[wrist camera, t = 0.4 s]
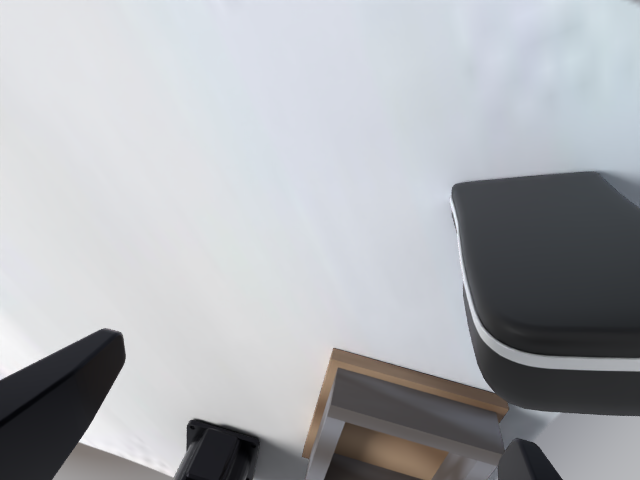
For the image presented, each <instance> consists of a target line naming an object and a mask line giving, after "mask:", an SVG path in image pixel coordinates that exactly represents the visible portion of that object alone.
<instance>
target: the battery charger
mask: <svg viewBox="0 0 640 480" xmlns="http://www.w3.org/2000/svg"><path fill="white" fill-rule="evenodd" d="M450 205H451V209H452V217H453V221H454V225H455V228H456V233H457V238H458V248H459V257H460V265H461V271H462V277H463V297H464V304H465V311H466V316H467V322H468V327H469V331H470V336H471V340H472V344H473V348H474V352H475V356H476V360H477V364H478V366H479V368H480V371H481V373H482V375H483V378H484V379H485V381H486V382H487V384H488V385H489V386H490V387H491V389H492V390H493V391H494V392H495V393H496V395H498V396H499V397H501V398H502V399H504V400H505V401H507V402H508V403H511V404H513V405H516V406H519V407H522V408H524V409H531V410H538V411H548V412H563V413H580V414H597V415H617V416H640V208H638V207H637V206H636V205H634V204H633V203H632V202H630V201H629V200H628V199H626V198H625V197H624V196H623V195H621V194H620V193H619V192H618V191H617V190H616V189H615V188H614V187H612V186H611V185H610V184H609V183H608V182H607V181H606V180H605V179H604V178H603V177H601V176H600V174H598V173H596V172H578V173H565V174H553V175H541V176H528V177H517V178H506V179H495V180H484V181H474V182H465V183H457V184H455V185H454V186H453V187H452V195H450Z"/></svg>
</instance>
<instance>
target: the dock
mask: <svg viewBox="0 0 640 480" xmlns="http://www.w3.org/2000/svg"><path fill="white" fill-rule="evenodd" d="M508 410H509V407H508V403H507V401H505V400H504V399H502V398H501V397H499V396H498V395H496V394H495V393H491V392H488V391H484V390H481V389H477V388H473V387H470V386H466V385H463V384H459V383H456V382H452V381H449V380H445V379H441V378H438V377H434V376H431V375H427V374H424V373H420V372H417V371H413V370H409V369H406V368H402V367H399V366H395V365H392V364H388V363H385V362H381V361H378V360H374V359H370V358H367V357H363V356H360V355H356V354H353V353H349V352H346V351H342V350H338V349H335V348H333V351H332V355H331V358H330V361H329V365H328V368H327V371H326V375H325V378H324V382H323V385H322V388H321V392H320V395H319V398H318V402H317V405H316V408H315V412H314V415H313V419H312V422H311V425H310V429H309V432H308V435H307V439H306V442H305V446H304V450H303V454H302V457H304V458H308V459H309V462H308V467H307V472H306V476H305V480H487V479H488V478H489V476H490V475H491V474H492V472H493V471H494V470H495V469H496V467H497V466H498V463H499V460H500V458H501V456H502V455H503V453H504V452H505V450H504V446H503V441H502V437H501V432H500V428H499V423H500V421H501V420H502V419H503V417H504V416H505V414H506V413H507V412H508Z"/></svg>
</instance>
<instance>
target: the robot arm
mask: <svg viewBox="0 0 640 480" xmlns="http://www.w3.org/2000/svg"><path fill="white" fill-rule="evenodd" d="M125 359H126V353H125V346H124V339H123V335H122V333H121V332H119V331H115V330H111V329H107V328H104V329H101V330H98V331H96V332H95V333H93V334H91V335H89V336H87V337H85V338H83V339H81V340H79V341H77V342H75V343H73V344H71V345H69V346H67V347H65V348H63V349H61V350H59V351H57V352H55V353H53V354H51V355H49V356H47V357H45V358H43V359H41V360H39V361H37V362H35V363H33V364H31V365H29V366H27V367H25V368H23V369H21V370H19V371H17V372H15V373H13V374H11V375H9V376H7V377H5V378H4V379H2V380H0V480H52V479H53V478H54V476H55V475H56V473H57V472H58V470H59V469H60V468H61V466H62V465H63V463H64V461H65V460H66V459H67V458H68V456H69V455H70V453H71V452H72V450H73V449H74V448H75V446H76V445H77V443H78V442H79V440H80V439H81V438H82V436H83V435H84V433H85V432H86V430H87V429H88V427H89V425H90V424H91V422H92V420H93V419H94V417H95V415H96V413H97V412H98V410H99V408H100V406H101V405H102V403H103V401H104V399H105V397H106V396H107V394H108V392H109V390H110V389H111V387H112V385H113V383H114V381H115V380H116V378H117V376H118V374H119V373H120V371H121V369H122V367H123V365H124V363H125ZM259 446H260V442H259V440H257V439H255V438H252V437H249V436H245V435H242V434H239V433H235V432H232V431H229V430H225V429H222V428H219V427H215V426H212V425H209V424H205V423H202V422H199V421H195V420H190V421H189V423H188V425H187V451H186V454H185V456H184V458H183V460H182V462H181V464H180V466H179V468H178V470H177V472H176V474H175V476H174V478H173V480H253V477H254V472H255V467H256V461H257V456H258V451H259ZM498 480H563V479H562V478H561V477H560V475H559V474H558V473H557V471H556V470H555V468H554V467H553V466H552V464H551V463H550V461H549V460H548V459H547V457H546V456H545V455H544V453H543V452H542V450H541V449H540V448H539V447H538V446H537V445H536V444H535V443H533V442H530V441H526V440H523V439H519V438H516V439H514V440H513V441H512V442H511V444H510V445H509V446H508V448H507V449H506V450H505V452H504V453H503V455H502V456H501V458H500V460H499V463H498Z"/></svg>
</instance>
